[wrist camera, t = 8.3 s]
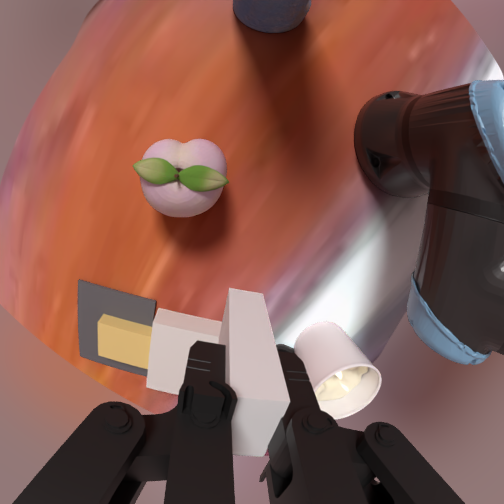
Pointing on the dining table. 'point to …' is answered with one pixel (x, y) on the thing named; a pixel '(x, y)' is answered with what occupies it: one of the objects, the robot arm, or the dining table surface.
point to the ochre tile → (124, 341)
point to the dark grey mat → (114, 304)
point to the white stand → (175, 347)
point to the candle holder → (337, 369)
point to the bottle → (271, 14)
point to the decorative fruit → (182, 176)
